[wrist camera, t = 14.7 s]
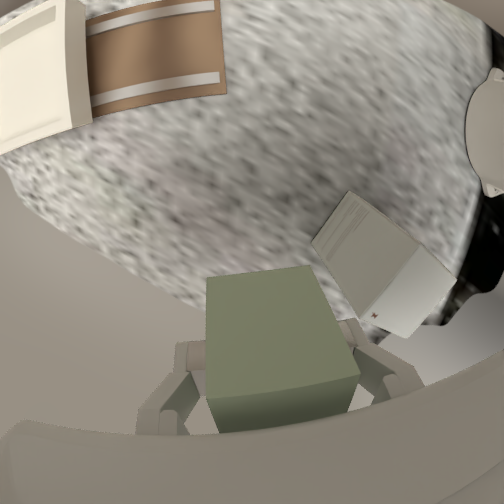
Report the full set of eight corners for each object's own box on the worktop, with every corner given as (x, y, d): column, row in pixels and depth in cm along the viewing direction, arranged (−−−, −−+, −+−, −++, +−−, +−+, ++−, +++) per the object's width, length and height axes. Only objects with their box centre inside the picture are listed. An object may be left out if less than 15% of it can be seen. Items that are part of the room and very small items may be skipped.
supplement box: (353, 269, 34) (405, 342, 23) (308, 242, 31) (356, 320, 21) (391, 221, 32) (459, 281, 21) (349, 186, 29) (421, 242, 18)
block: (309, 265, 13) (360, 373, 8) (305, 335, 15) (337, 434, 10) (206, 277, 13) (205, 398, 7) (220, 347, 15) (227, 452, 10)
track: (218, -5, 18) (219, -10, 17) (226, 93, 23) (226, 93, 22) (9, 57, 16) (2, 57, 15) (17, 143, 21) (10, 146, 20)
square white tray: (93, 10, 16) (65, -8, 10) (101, 120, 21) (72, 128, 16) (1, 53, 15) (-35, 51, 10) (10, 151, 20) (-26, 167, 15)
